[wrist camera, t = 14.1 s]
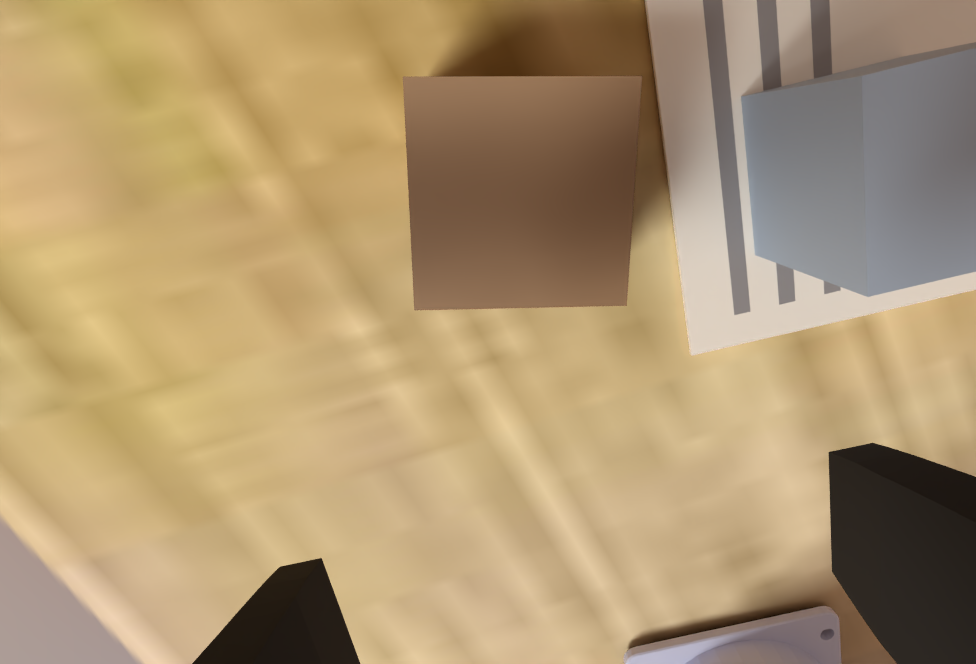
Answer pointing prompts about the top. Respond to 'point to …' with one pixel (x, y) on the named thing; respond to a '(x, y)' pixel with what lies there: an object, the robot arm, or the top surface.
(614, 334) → the top surface
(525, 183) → the walnut block
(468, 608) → the top surface
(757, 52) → the letter
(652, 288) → the top surface
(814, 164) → the slate cube
